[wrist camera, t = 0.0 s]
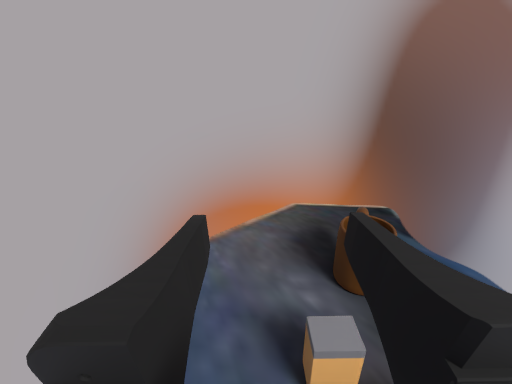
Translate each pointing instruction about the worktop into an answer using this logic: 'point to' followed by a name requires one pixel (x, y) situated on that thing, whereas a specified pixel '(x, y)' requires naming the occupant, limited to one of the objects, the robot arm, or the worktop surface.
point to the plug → (332, 350)
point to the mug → (341, 262)
